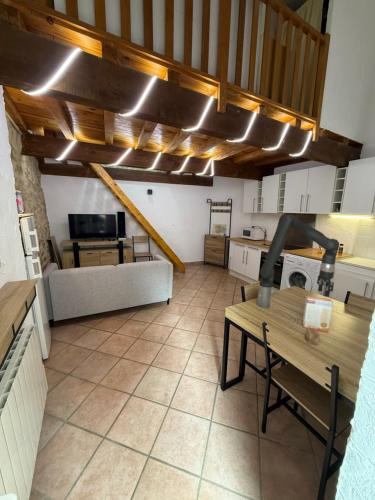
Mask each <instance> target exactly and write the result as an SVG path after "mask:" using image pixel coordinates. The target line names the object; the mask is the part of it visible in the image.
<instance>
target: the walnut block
mask: <svg viewBox="0 0 375 500" xmlns="http://www.w3.org/2000/svg"><path fill="white" fill-rule="evenodd" d="M305 329H306V331H305V337H304V340H305V341H306V343H307V345H311V346H319V342H320V333H319V332H318V330H316V329H309V328H305Z"/></svg>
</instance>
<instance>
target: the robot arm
mask: <svg viewBox="0 0 375 500" xmlns="http://www.w3.org/2000/svg"><path fill="white" fill-rule="evenodd" d="M289 228H292V229H294V230H297V231H298V232H299V233H300V234H302V235H303V236H304V237H306V238H307V239H309V240H311V241H312V242H314V243H316V244H317V245H318V246H320V247H321V248H322V249H324V250H325V251H324V253H323V254H322V258H321V263H320V269H319V273H318V274H319V275H318V276H317V280H316V284H317V286H318V289H317V291H318V292H323V288H324V289H325V293H324V297H325V298H328V297H330V293H331V292H334V284H335V283H334V282H333V281H331V280H332V279H334V276H335V275H334V274H335V268H336V259H337V256H338V255H337V254H338V251H339V249H340V241H338V240H337V239H336V238H330V237H328V236H326V235H325V234H324V233H323V232H321V231H320V230H317V229H316V228H313V227H312V226H310V225H308V224H306V223H304V222H303V221H302V220H301V219H299V218H297V216H295V215H293V214H291V213H283V214H281V216H280V217H279V219H278V222H277V227H276V229H275V232H274V234H273V237H272V240H271V243H270V244H269V248H268V251H267V253H266V256H265V259H264V262H263V264H262V266H261V268H260V270H259V274H260V277H261V278H260V280H259V286H258V292H257V301H256V305H257V306H258V307H260V308H261V309H262V308H263V309H268V308H270V306H271V298H272V297H271V296H272V290H273V289H272V288H273V283H274V280H275V279H274V277H275V269H274V267H275V264H276V262H277V261H278V259H279V258H280V256H281V255H282V252H283V250H284V247H285V244H286V234H287V232H288V229H289Z"/></svg>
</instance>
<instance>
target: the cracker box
mask: <svg viewBox="0 0 375 500" xmlns="http://www.w3.org/2000/svg"><path fill="white" fill-rule="evenodd" d="M304 302H305V303H304V307H303V308H304V310H303V317H302V326H303V328H305V329H316V331H320V332H325V333H329V330H330V329H329V327H330V322H331V316H332V311H333V310H332V308H333V305H334V304H333V303H334V302H333V301H332V299H331V298H328V297H318V296H314V295H313V296H312V295H306V296H305V301H304Z"/></svg>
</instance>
